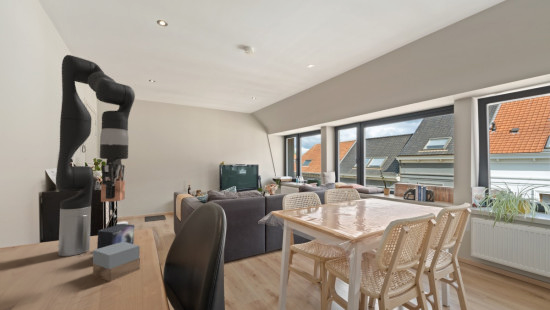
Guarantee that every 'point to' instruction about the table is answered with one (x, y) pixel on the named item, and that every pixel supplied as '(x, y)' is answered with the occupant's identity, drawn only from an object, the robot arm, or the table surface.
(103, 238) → the small box
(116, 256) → the tower top
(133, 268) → the tower base
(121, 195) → the terracotta block
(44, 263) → the table surface
